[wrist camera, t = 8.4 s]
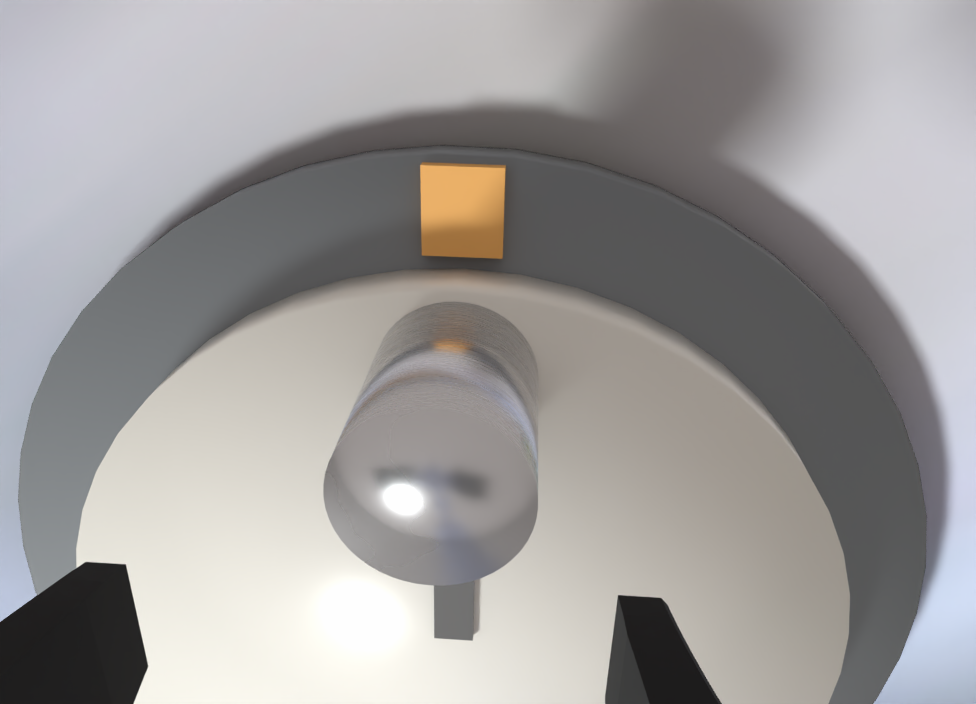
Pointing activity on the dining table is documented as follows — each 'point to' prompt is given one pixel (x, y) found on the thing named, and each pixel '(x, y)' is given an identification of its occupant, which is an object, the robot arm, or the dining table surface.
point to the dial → (460, 505)
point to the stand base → (507, 249)
